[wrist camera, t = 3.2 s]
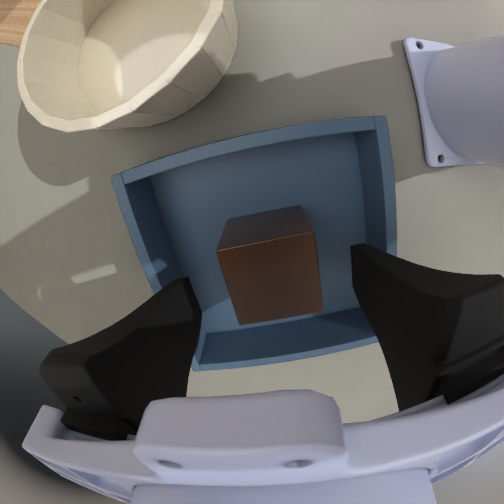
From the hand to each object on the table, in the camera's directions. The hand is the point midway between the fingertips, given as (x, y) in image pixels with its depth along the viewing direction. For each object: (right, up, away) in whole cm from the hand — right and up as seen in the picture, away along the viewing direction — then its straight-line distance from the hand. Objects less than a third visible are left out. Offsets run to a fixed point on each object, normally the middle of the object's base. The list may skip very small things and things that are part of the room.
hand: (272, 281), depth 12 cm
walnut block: (0, +2, +3) cm, 4 cm away
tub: (0, +2, +4) cm, 4 cm away
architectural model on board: (-21, +28, -7) cm, 36 cm away
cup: (-7, +13, -1) cm, 14 cm away
